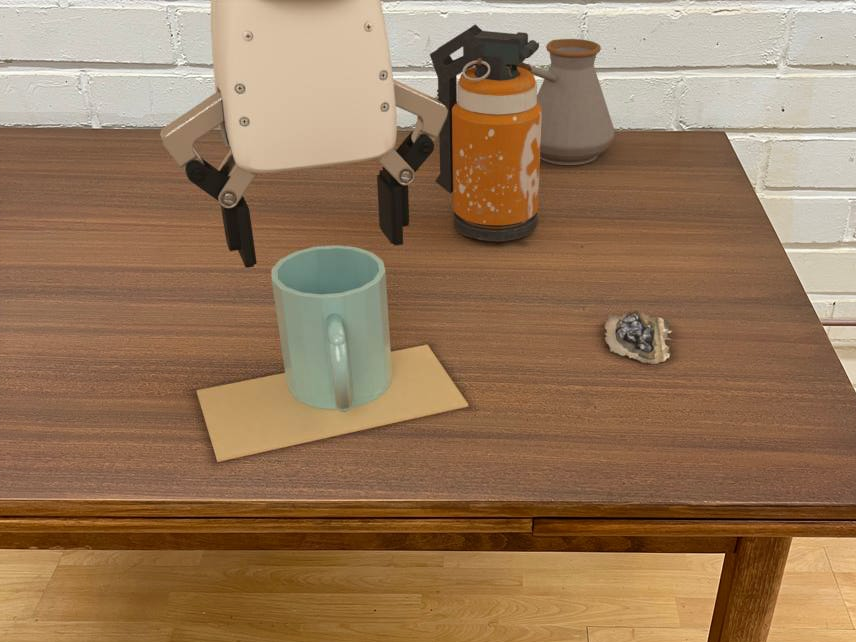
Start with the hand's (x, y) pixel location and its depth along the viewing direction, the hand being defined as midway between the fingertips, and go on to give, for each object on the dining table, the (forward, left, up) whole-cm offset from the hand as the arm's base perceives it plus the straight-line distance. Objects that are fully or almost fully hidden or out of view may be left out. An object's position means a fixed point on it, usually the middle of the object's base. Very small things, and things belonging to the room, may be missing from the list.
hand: (320, 247), depth 62 cm
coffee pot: (+38, +47, -16) cm, 63 cm away
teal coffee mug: (+2, +7, -16) cm, 17 cm away
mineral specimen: (+29, +5, -16) cm, 34 cm away
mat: (+1, +6, -16) cm, 17 cm away
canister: (+25, +32, -16) cm, 44 cm away
